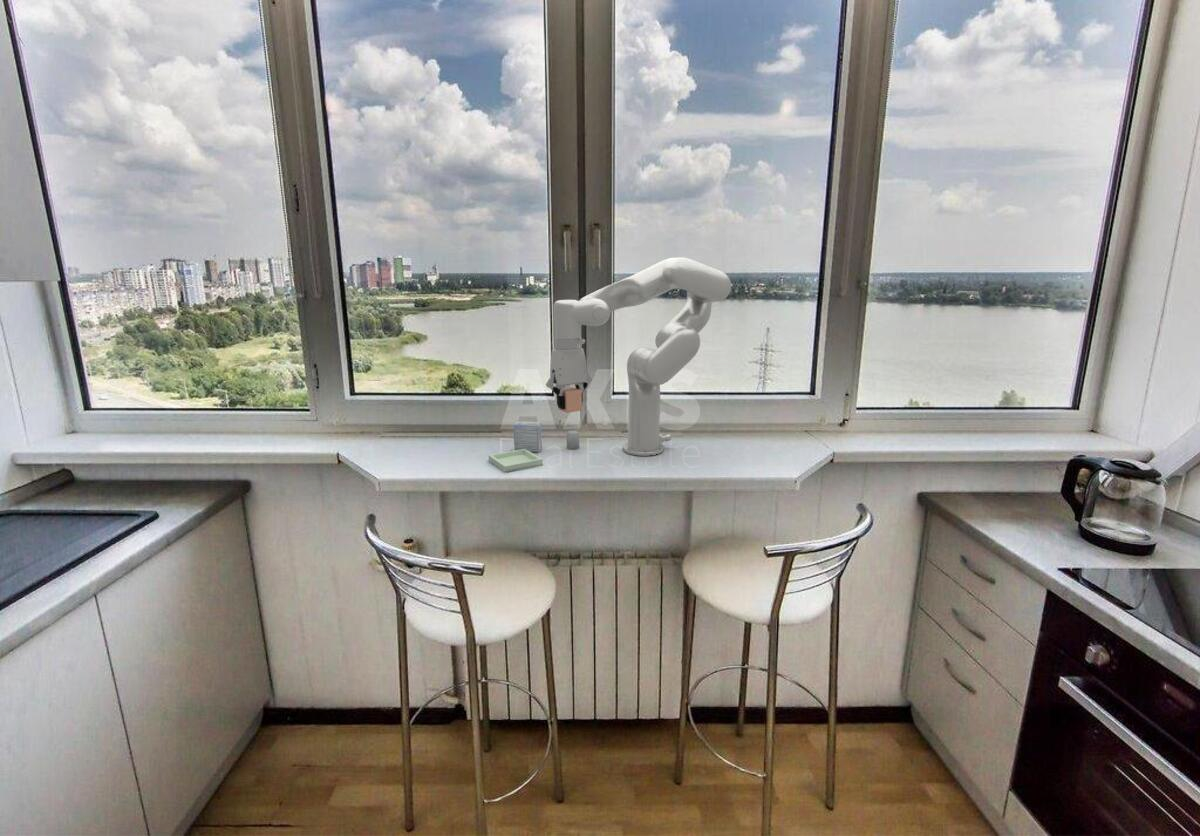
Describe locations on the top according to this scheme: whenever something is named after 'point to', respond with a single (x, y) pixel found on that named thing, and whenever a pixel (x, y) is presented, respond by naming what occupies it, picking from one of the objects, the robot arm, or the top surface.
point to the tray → (515, 460)
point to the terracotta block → (572, 400)
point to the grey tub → (572, 439)
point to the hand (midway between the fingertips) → (570, 406)
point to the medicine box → (528, 436)
